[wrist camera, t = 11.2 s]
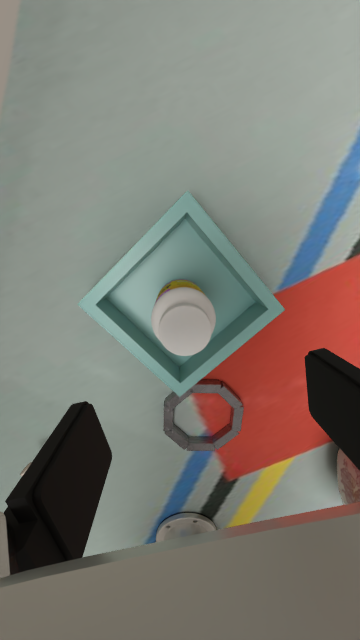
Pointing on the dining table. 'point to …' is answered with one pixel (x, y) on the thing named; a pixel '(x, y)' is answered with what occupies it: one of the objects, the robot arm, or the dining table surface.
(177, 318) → the supplement bottle
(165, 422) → the collar
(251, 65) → the dining table surface
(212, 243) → the bin
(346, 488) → the chamber pot
